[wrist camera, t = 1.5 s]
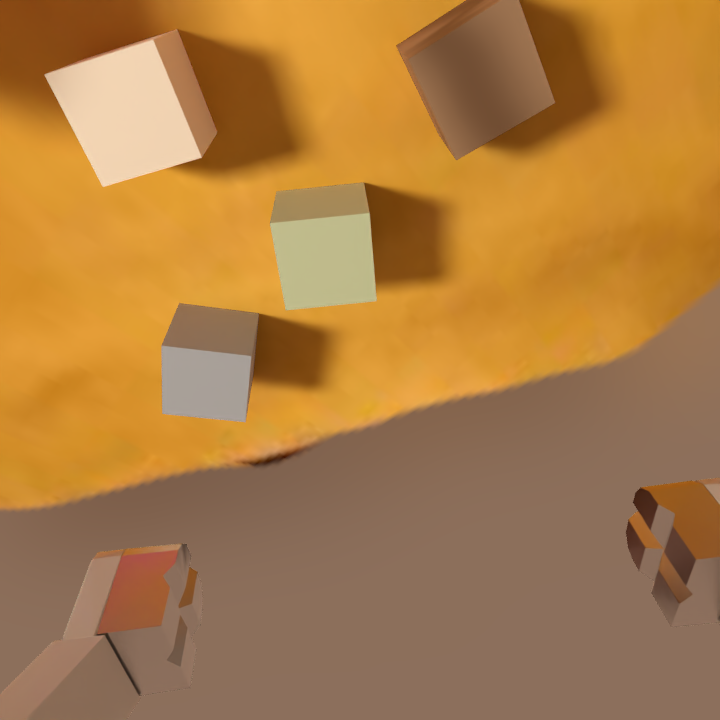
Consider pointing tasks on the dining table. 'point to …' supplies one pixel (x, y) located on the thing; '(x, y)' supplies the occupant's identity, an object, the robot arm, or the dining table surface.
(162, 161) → the cube offwhite
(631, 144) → the dining table surface
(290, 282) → the cube sage
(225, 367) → the cube slate
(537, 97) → the cube walnut
